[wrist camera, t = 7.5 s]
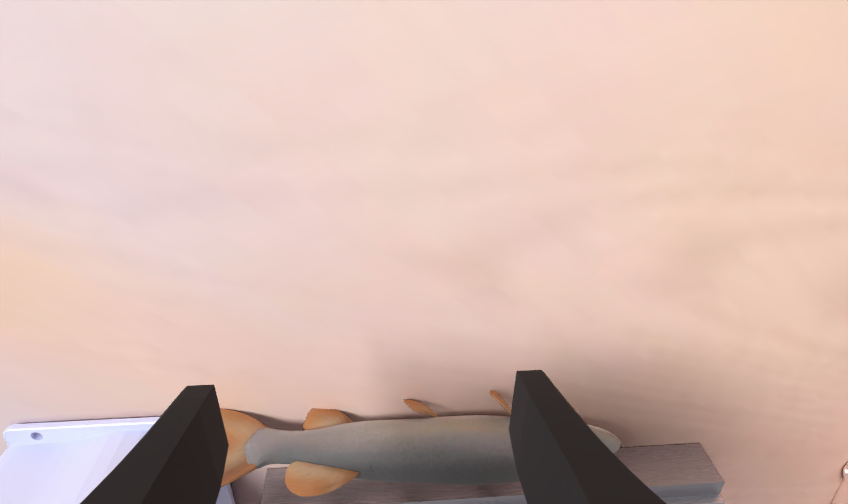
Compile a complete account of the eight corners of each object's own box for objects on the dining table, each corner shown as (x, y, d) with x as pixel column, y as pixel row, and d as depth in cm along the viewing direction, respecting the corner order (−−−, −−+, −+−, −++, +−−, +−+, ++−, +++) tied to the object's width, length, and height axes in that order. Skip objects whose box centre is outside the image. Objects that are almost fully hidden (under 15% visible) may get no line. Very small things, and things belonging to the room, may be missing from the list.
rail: (274, 504, 30) (265, 557, 27) (267, 468, 28) (256, 521, 26) (685, 477, 32) (713, 525, 29) (699, 443, 30) (730, 490, 27)
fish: (592, 437, 29) (629, 521, 25) (198, 438, 27) (165, 532, 23) (613, 377, 27) (658, 458, 23) (187, 372, 25) (147, 462, 20)
